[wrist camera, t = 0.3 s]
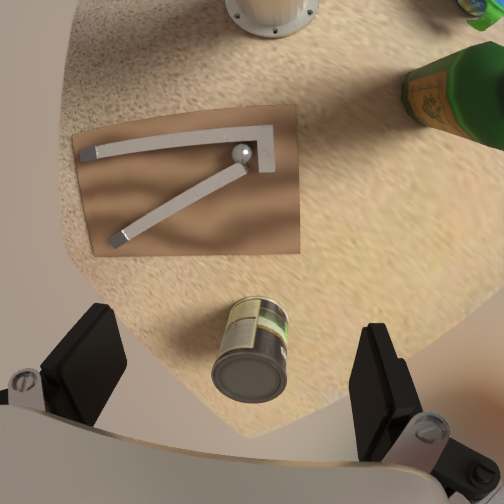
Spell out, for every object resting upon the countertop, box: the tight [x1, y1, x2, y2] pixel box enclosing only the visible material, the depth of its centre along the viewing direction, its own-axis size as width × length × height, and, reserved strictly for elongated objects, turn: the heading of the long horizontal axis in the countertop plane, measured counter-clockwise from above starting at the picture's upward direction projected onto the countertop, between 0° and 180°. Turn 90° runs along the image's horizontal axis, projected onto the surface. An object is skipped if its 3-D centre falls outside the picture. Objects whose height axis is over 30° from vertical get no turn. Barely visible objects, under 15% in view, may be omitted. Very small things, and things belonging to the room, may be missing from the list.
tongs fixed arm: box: [79, 124, 276, 173], centre depth 41 cm, size 28×6×3 cm, turn 94°
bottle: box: [401, 41, 504, 151], centre depth 24 cm, size 11×11×28 cm
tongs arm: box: [108, 142, 254, 249], centre depth 44 cm, size 25×4×3 cm, turn 119°
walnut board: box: [72, 104, 300, 257], centre depth 46 cm, size 21×34×2 cm, turn 94°
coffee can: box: [211, 296, 288, 403], centre depth 48 cm, size 10×10×14 cm
